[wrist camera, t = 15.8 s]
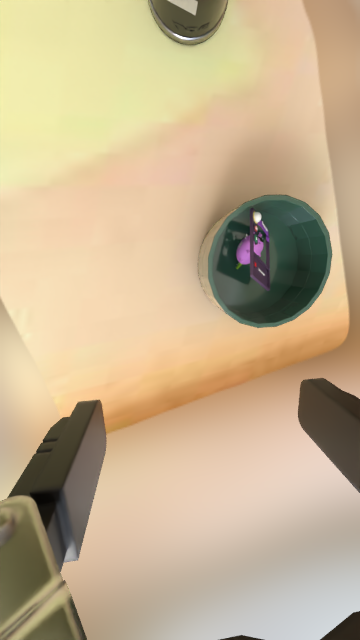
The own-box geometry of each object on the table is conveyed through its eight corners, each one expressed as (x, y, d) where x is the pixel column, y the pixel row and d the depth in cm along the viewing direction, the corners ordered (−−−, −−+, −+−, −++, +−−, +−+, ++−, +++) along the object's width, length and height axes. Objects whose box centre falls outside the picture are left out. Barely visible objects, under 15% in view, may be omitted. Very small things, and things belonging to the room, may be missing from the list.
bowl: (197, 208, 33) (208, 195, 27) (304, 207, 35) (340, 194, 28) (198, 318, 37) (208, 330, 31) (294, 312, 39) (323, 323, 32)
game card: (259, 274, 27) (258, 204, 29) (219, 281, 30) (220, 218, 32) (275, 289, 32) (274, 230, 34) (240, 294, 36) (240, 240, 37)
